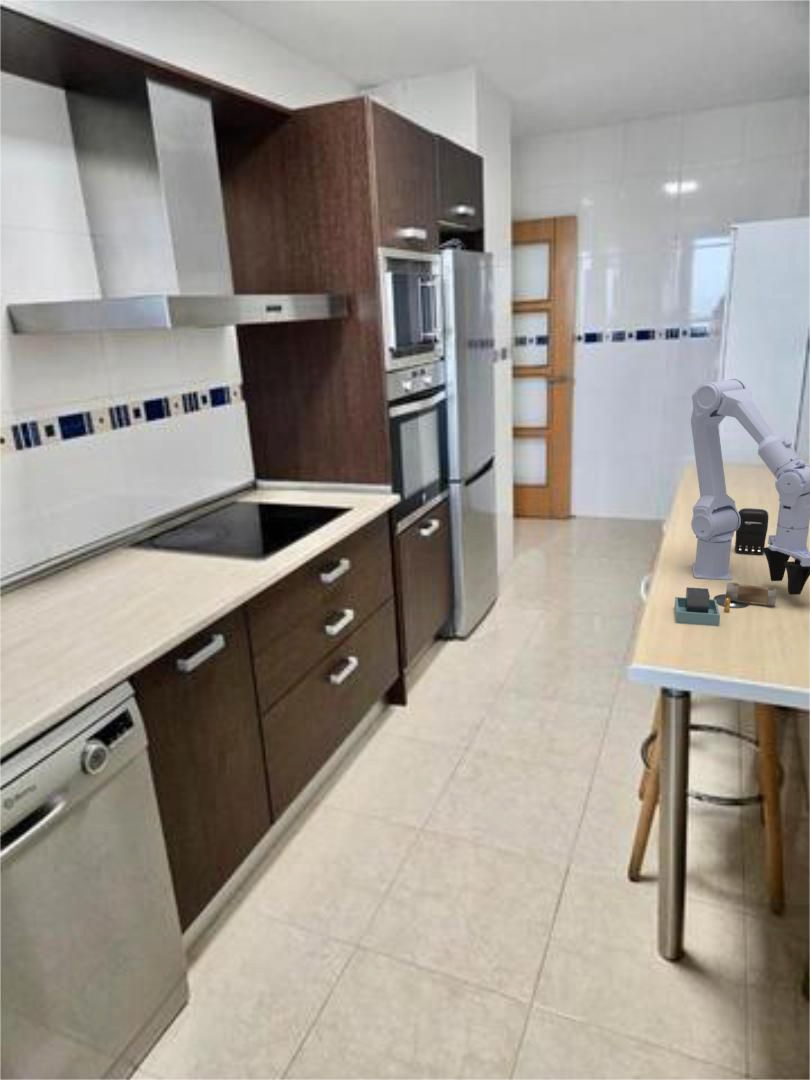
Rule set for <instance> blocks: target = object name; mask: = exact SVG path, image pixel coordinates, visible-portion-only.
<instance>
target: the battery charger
mask: <svg viewBox="0 0 810 1080" xmlns="http://www.w3.org/2000/svg"><path fill="white" fill-rule="evenodd" d="M738 513H739V514H740V518H741V524H740V527H739V528H738V529H737V530H736V531H735V542H734V551H735V552H736V553H737V554H741V555H753V556H754V555H756V556H762V555H764V554H765V553H764V551H763V548H765V547H766V539H767V534H768V527H769V512H768V511H767V509H764V508H760V507H759V508H756V507H742V508H740V509H739V510H738Z"/></svg>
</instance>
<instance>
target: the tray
mask: <svg viewBox="0 0 810 1080" xmlns="http://www.w3.org/2000/svg"><path fill="white" fill-rule="evenodd" d="M713 599H714V598H713ZM713 599H712V598H711V599H709V610H708V613H696V612H685V601H686V597H682V596H681V597H680V596H675V597H674V614H675V615H674V616H675V623H676V624H684V625H685V624H686V625H698V626H699V625H701V626H713V627H714V626H717V627H719V626H720V619H721V614H720V609H719V605H717V601H716V600H713Z"/></svg>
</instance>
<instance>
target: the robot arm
mask: <svg viewBox="0 0 810 1080" xmlns="http://www.w3.org/2000/svg"><path fill="white" fill-rule="evenodd" d="M691 399H692V414H691V418H690V426H691V434H692V442H693V450H694V457H695V466H696V472H697V473H696V474H697V475H696V476H697V481H698V489H699V496H700V497H699V498H698V500H697V501H696V503H695V504H694V505H693V507H692V519H691V524H690V525H691V529H692V532H693V534H694V535H695V539H696V552H695V554H696V555H695V562H692V563H691V569H692V574H693V578H694V579H706V580H708V579H709V580H724V581H732V580H733V576H732V574H731V571H730V559H731V553H732V551H731V550H732V541H733V540H732V539H733V537H734V535H735V533H736V530H737V529H738V528H739V527H740V524H741V518H740V514H739V513H738V512H739V510H738V509H737V507H736V501H735V499H733V498H732V497H731V496H730V495H728V494H727V487H726V478H725V477H726V476H725V471H724V469H725V468H724V461H723V454H722V447H721V438H720V437H721V436H720V431H719V430H720V429H719V426H720V424H721V423H722V421H723V420H724V419H725V418H726V417H732V418H735V419H736V421H738V423H739V424H740V425H741V426H742V427H743V429H745V431H746V432H747V433H748V434H749V435H750V436H751V438H752V439H753V440H754V441H755V443H757V445H758V450H757V455H758V456H759V457H760V459H761V460H762V461H763V462H764V464H765V466H767V468H768V470H770V472H771V474H772V475H773V476H774V478H775V479H776V480H775V481H774V484H775V485H774V487H775V489H776V491H777V493H778V496H779V497H778V502H779V507H778V514H777V523H776V531H775V532H776V533H775V534H773V535H772V534H771V535H770V534H769V535H768V541H767V544H768V546H765V547H764V548H763V551H764V553H763V554H764V555H765V558H766V560H767V565H768V570H769V578H770V581H772V582H782V581H783V579H784V576H785V573H786V575H787V592H788V594H789V595H791V596H795V595H796V596H797V595H801V593H802V592H803V589H804V586H805V585H806V584H807V581H808V579H809V577H810V551H809V548H808V546H807V545H808V544H807V543H808V537H809V530H810V529H809V528H810V464H809V463H808V464H807V463H806V461H805V460H804V459H802V458H801V457H800V456H799V454H798V453H797V452H796V451H795V449H794V448H793V446H792V444H793V443H792V442H791V441H790V439H787V438H786V437H785V436H779V435H775V433H774V432H773V430H772V429H771V427H770V426H769V424H768V423H767V421H766V420H765V418H764V416H763V414H761V412H760V410H759V409H758V407H757V406H756V404H755V402H754V401H753V396H752V392H751V390H750V389H748V388H747V386H746V384H745V383H744V382H743V381H742V380H741V379H739V378H731V379H729V380H721V381H713V382H712V381H705V382H704V383H701V384H700V385H699V386H698V388H697V389H696V390H695V391H694V393H693V394H692V396H691ZM790 557H791V558H793V559H794V560H793V561H789V560H790Z"/></svg>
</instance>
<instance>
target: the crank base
mask: <svg viewBox="0 0 810 1080" xmlns="http://www.w3.org/2000/svg"><path fill="white" fill-rule="evenodd" d="M713 600H716V601H717V604H718V606H720V607H723V612H724V613H727V614H728V613H730V609H744V608H748V607H749V606H750V605H751V602H745V601H730V600H731V599H730V598H726V593H723V594H722V593H721V594H718V595H714V597H713Z"/></svg>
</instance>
